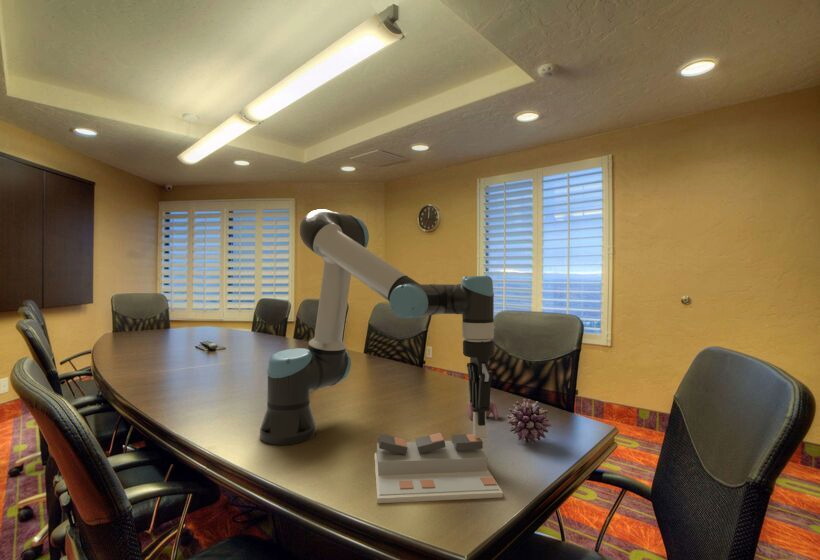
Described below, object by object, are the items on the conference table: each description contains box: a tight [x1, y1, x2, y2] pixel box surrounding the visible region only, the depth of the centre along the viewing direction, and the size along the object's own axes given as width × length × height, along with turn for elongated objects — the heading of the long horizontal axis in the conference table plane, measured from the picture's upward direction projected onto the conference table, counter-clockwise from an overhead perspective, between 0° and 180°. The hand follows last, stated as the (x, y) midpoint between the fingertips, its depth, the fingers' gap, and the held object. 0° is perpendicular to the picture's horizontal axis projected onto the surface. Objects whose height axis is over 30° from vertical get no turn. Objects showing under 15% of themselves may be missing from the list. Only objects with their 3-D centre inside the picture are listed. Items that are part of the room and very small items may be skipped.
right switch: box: [451, 433, 484, 450], centre depth 94 cm, size 6×5×2 cm
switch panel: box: [374, 440, 504, 504], centre depth 89 cm, size 26×20×4 cm
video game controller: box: [466, 399, 499, 421], centre depth 127 cm, size 10×5×7 cm, turn 93°
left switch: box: [377, 432, 408, 455], centre depth 91 cm, size 6×5×2 cm
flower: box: [506, 398, 552, 445], centre depth 108 cm, size 12×12×12 cm
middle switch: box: [414, 432, 446, 454], centre depth 92 cm, size 6×5×2 cm
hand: (479, 436), depth 94 cm, fingers closed
